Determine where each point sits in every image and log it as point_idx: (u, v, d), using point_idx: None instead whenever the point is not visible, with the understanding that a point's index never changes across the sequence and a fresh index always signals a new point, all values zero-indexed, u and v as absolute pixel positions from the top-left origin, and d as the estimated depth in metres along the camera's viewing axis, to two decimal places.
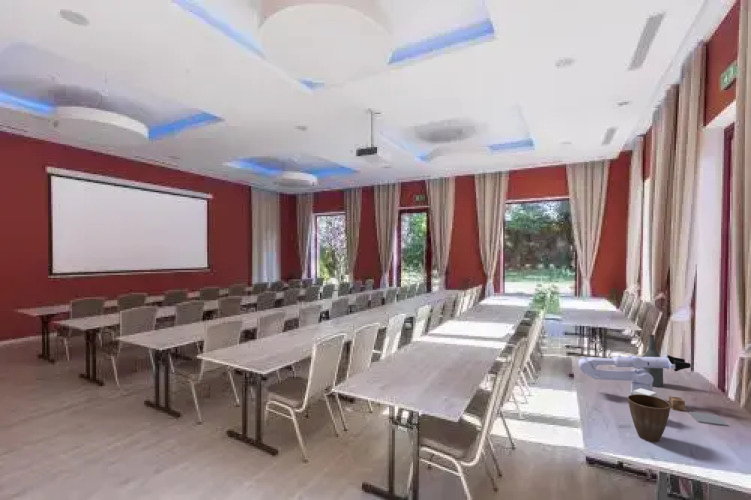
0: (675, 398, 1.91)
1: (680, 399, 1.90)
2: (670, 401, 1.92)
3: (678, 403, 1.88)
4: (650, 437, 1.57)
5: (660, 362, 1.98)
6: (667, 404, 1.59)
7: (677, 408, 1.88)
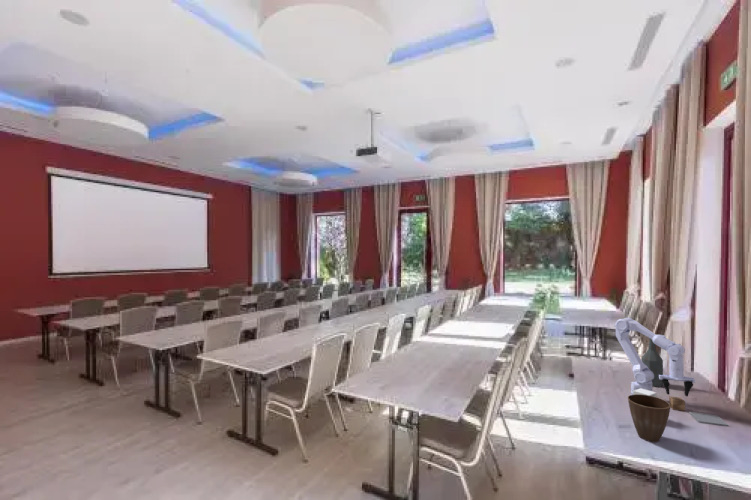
0: (675, 398, 1.91)
1: (680, 399, 1.90)
2: (670, 401, 1.92)
3: (678, 403, 1.88)
4: (650, 437, 1.57)
5: (670, 370, 1.91)
6: (667, 404, 1.59)
7: (677, 408, 1.88)
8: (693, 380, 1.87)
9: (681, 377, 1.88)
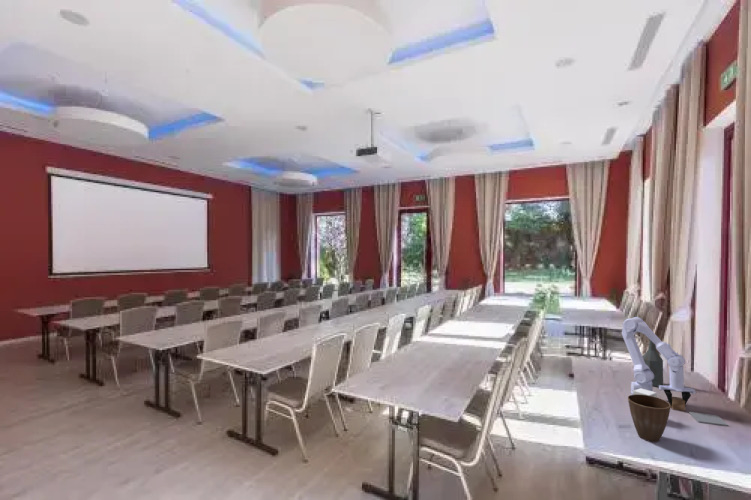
0: (675, 398, 1.91)
1: (680, 399, 1.90)
2: None
3: (678, 403, 1.88)
4: (650, 437, 1.57)
5: (670, 380, 1.91)
6: (667, 404, 1.59)
7: (677, 408, 1.88)
8: (693, 391, 1.87)
9: (681, 388, 1.88)
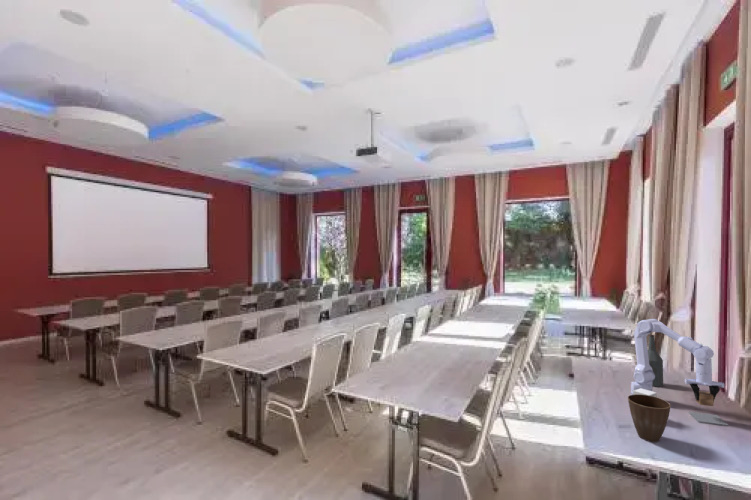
0: (702, 392, 1.79)
1: (708, 393, 1.78)
2: None
3: (706, 398, 1.77)
4: (650, 437, 1.57)
5: (697, 374, 1.80)
6: (667, 404, 1.59)
7: (705, 403, 1.77)
8: (722, 385, 1.76)
9: (709, 382, 1.76)
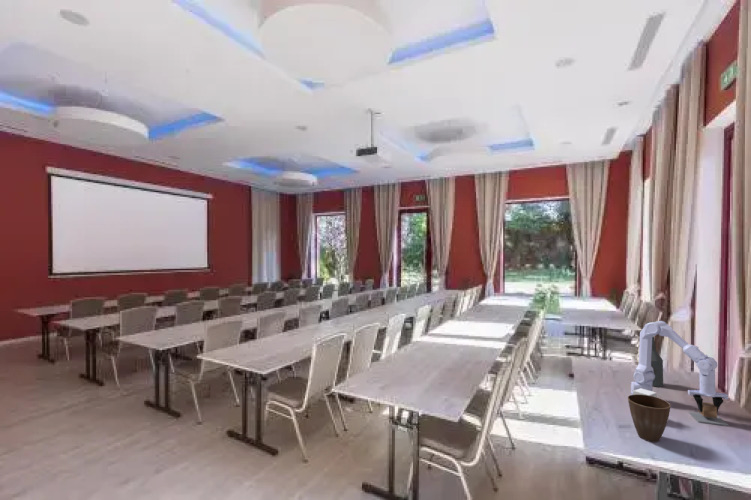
0: (706, 404, 1.78)
1: (711, 405, 1.77)
2: None
3: (709, 409, 1.75)
4: (650, 437, 1.57)
5: (701, 385, 1.78)
6: (667, 404, 1.59)
7: (708, 414, 1.76)
8: (726, 396, 1.74)
9: (713, 393, 1.75)
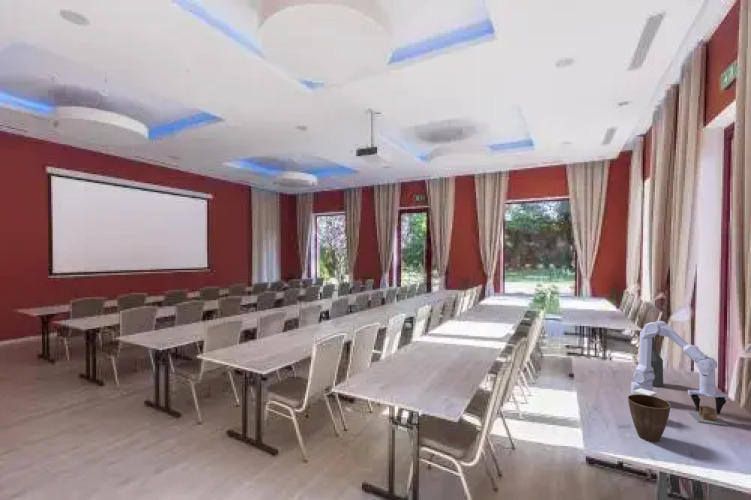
0: (706, 407, 1.78)
1: (711, 408, 1.77)
2: (700, 410, 1.79)
3: (709, 412, 1.75)
4: (650, 437, 1.57)
5: (701, 385, 1.78)
6: (667, 404, 1.59)
7: (708, 418, 1.76)
8: (726, 396, 1.74)
9: (713, 393, 1.75)
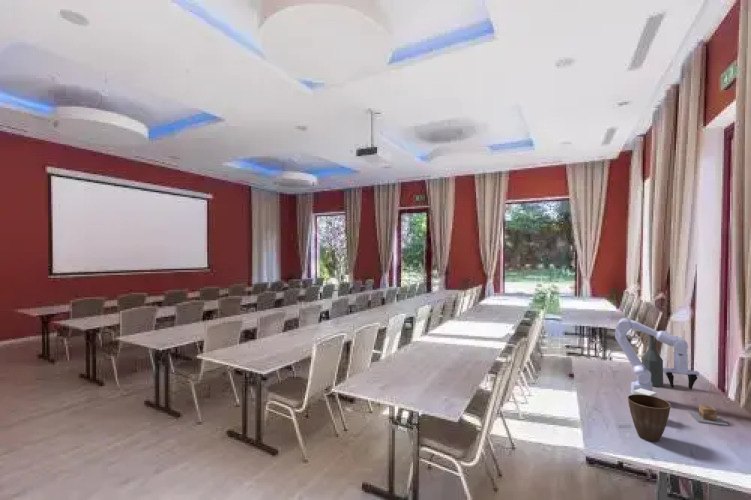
0: (706, 407, 1.78)
1: (711, 408, 1.77)
2: (700, 410, 1.79)
3: (709, 412, 1.75)
4: (650, 437, 1.57)
5: (674, 363, 1.94)
6: (667, 404, 1.59)
7: (708, 418, 1.76)
8: (697, 373, 1.90)
9: (685, 370, 1.90)
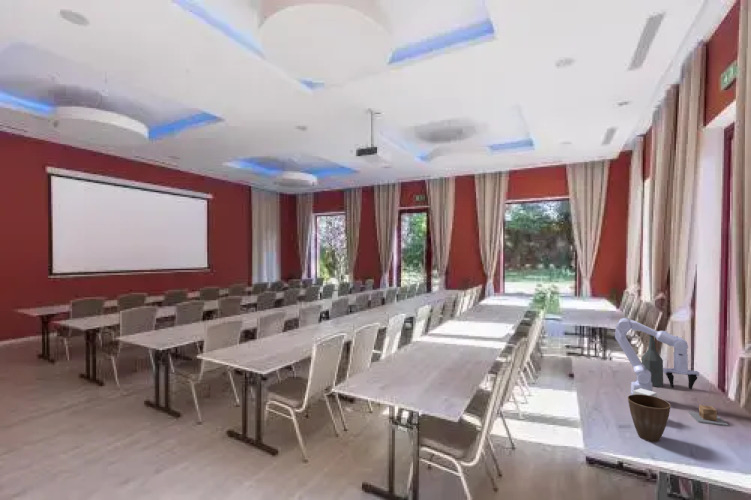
0: (706, 407, 1.78)
1: (711, 408, 1.77)
2: (700, 410, 1.79)
3: (709, 412, 1.75)
4: (650, 437, 1.57)
5: (674, 363, 1.94)
6: (667, 404, 1.59)
7: (708, 418, 1.76)
8: (697, 373, 1.90)
9: (685, 370, 1.90)
